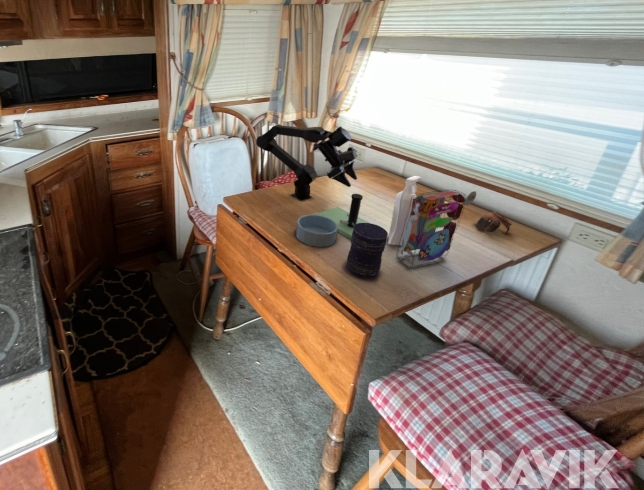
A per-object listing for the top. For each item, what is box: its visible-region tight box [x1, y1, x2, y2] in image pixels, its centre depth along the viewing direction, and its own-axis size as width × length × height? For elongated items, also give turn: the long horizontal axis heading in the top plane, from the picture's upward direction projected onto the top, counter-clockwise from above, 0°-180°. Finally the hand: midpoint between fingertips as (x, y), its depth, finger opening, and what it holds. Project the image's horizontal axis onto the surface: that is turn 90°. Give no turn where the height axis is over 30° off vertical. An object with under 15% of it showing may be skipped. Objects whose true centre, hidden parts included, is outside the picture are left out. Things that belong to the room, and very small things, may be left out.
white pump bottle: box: [387, 175, 422, 247], centre depth 126 cm, size 7×12×25 cm, turn 126°
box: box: [395, 189, 477, 269], centre depth 117 cm, size 25×6×24 cm, turn 108°
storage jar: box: [345, 222, 389, 281], centre depth 113 cm, size 10×10×18 cm
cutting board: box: [313, 206, 370, 240], centre depth 143 cm, size 20×14×2 cm
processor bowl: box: [295, 214, 338, 248], centre depth 134 cm, size 14×14×6 cm
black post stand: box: [340, 193, 364, 228], centre depth 136 cm, size 9×8×13 cm
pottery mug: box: [475, 210, 513, 234], centre depth 136 cm, size 12×10×8 cm
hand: (353, 182), depth 149 cm, fingers open, 9 cm apart
